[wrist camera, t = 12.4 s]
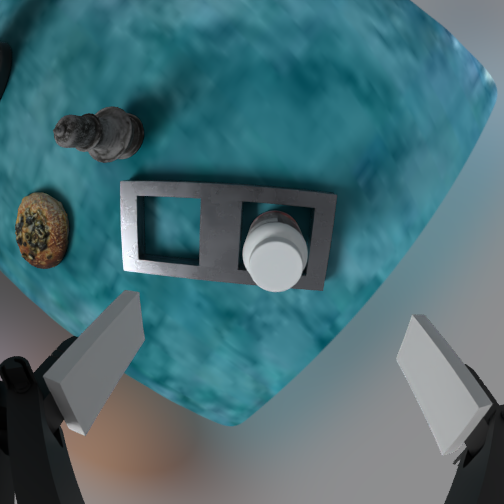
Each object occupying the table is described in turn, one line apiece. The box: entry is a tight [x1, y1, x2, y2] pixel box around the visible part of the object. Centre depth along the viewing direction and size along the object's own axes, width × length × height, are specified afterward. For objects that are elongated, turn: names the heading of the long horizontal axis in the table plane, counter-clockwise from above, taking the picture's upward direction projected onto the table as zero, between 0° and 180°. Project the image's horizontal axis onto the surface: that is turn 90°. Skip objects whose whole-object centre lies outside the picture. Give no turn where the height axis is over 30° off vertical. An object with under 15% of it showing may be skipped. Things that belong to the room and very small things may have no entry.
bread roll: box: [15, 192, 69, 269], centre depth 30 cm, size 11×11×5 cm
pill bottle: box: [243, 210, 308, 292], centre depth 26 cm, size 5×5×10 cm
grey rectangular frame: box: [120, 180, 337, 291], centre depth 29 cm, size 22×10×2 cm, turn 86°
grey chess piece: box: [53, 107, 144, 163], centre depth 22 cm, size 6×6×12 cm
